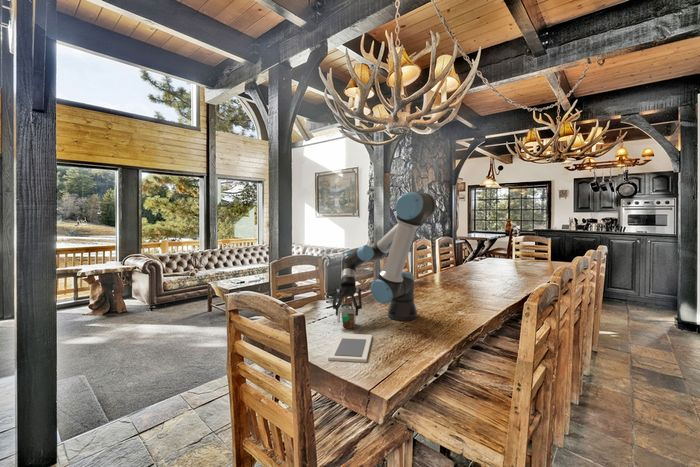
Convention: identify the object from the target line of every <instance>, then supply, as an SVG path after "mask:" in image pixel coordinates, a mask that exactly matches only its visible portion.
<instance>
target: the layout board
mask: <svg viewBox="0 0 700 467" xmlns="http://www.w3.org/2000/svg"><path fill="white" fill-rule="evenodd" d="M372 338H373V335H372V334H362V333H360V334H359V333H339V336H338V337H337V339H336V341H335V342H334V345H333V347H332V349H331V351H330V353H329V355H328V357H327V360H328V361H334V362H335V361H336V362H337V361H339V362H355V363H357V362H358V363H367V361H368V356H369V352H370V348H371V344H372Z"/></svg>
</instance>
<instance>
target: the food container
mask: <svg viewBox="0 0 700 467" xmlns="http://www.w3.org/2000/svg"><path fill="white" fill-rule="evenodd" d="M340 314H341V321H342V328H343V327H344V329H346V330H349V329H350V331H353V330H355V323H354V307H353V301H349V302H344V303H342V304H341V306H340Z"/></svg>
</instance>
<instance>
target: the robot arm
mask: <svg viewBox="0 0 700 467" xmlns="http://www.w3.org/2000/svg"><path fill="white" fill-rule="evenodd" d="M394 206H395V208H394V209H395V212H396V218H395V219H396V221H397V224H395V225H394V226H393V227H392V228H391V229H390V230H389V231H388V232H387V233H386V234H385V235H384V236H383V237H381V239H379V240H378V241H377V242H376V243H375V244H374V245H372V246H370V245H367V244H363V245H362V246H359V248H357V249H356V250H355V251H353V252H351V251H349V252H345V253H343V255H342V260H341V272H340V273H341V274H340V287H339V288H334V290H333V292H334V295H333V299H332V304H331V305H332V310H335V317H337V324H340V322H341V321H340V320H341V311H340V307H341V305H342V304H343V301H344V299H345V298H346V297H349V298H351V302H352V304H353V306H354V307H353V309H354V324H356V318H357V317H358V316H359V310H361V309H363V304H362V288H357V286H356V284H357V283H356V280H357V268H358V267H360V266H362V265H363V264H365V263H369V262H375V261H381V260H383V259H385V258H386V257H387V258H386V262H385V265H384V267H383V269H382V270H380V271H379V274H378V276H377V279H374V280H373V281H372V283H371V284H370V293H371V295H372V298H373V299H374V300H375V301H376V302H377V303H379V304H383V305H385V304H389V306H388V310H387V317H388V318H389V319H391V320H395V321H399V322H401V321H403V322H406V321H413V320H416V319H417V318H418V310H417V308H416V305H415V304H416V303H415V279H414V277H415V276H414V274H413V273H412V272H408V271H404V268H405V265H406V262H407V259H408V256H409V253H410V249H411V246H412V244H413V241H414V237H415V234H416V231H417V229H418V228H420V227H422V225H423V224H425V222H427V221H428V220H429V219H430V218H431V217H432V216H434V214H435V212H436V210H437V202H436V199H435V198H434V196H433V195H431V194H429V193H427V192H416V191H411V192H405V193H403V194H401V195H400V196H399V197H398V198H397V200H396V202H395V205H394ZM387 254H388V255H387ZM339 293H340V296H339V299H338V294H339ZM355 293H356V294H357V295H358V296H357V298H358V303H357V300H356V298H355V295H354V294H355ZM337 300H338V301H337Z"/></svg>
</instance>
